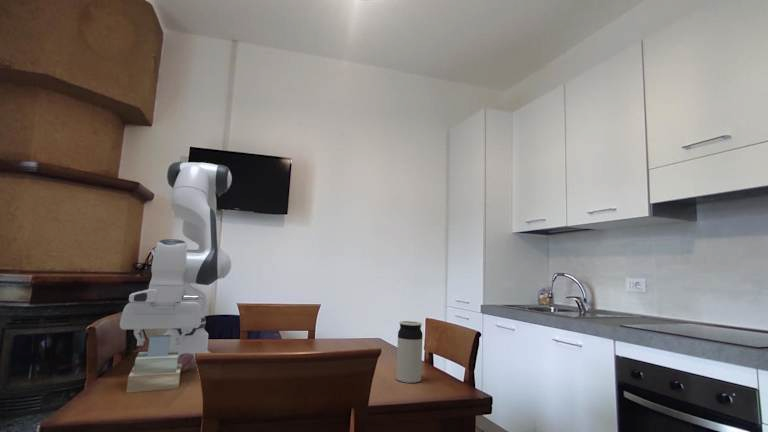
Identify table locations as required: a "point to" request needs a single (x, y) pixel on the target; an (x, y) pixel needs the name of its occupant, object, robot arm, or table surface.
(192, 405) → the table surface
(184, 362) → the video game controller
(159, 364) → the cream stepped block
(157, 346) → the slate brick
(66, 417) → the table surface
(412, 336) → the travel mug
